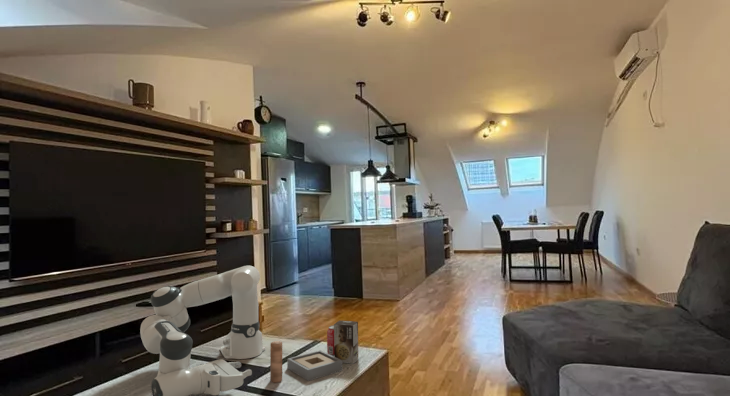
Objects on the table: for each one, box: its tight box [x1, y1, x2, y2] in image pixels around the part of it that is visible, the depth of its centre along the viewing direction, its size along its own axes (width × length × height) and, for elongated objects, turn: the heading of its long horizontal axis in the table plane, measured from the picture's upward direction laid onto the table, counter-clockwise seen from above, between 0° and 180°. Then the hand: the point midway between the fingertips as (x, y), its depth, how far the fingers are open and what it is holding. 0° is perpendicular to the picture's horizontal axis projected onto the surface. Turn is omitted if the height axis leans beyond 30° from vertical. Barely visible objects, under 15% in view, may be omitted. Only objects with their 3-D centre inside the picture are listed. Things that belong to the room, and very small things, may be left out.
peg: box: [269, 340, 283, 384], centre depth 154 cm, size 4×4×14 cm
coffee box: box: [333, 320, 359, 365], centre depth 175 cm, size 9×6×16 cm
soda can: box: [326, 324, 334, 356], centre depth 183 cm, size 7×7×12 cm
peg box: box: [286, 349, 343, 382], centre depth 164 cm, size 16×16×4 cm
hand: (245, 367), depth 146 cm, fingers open, 8 cm apart
